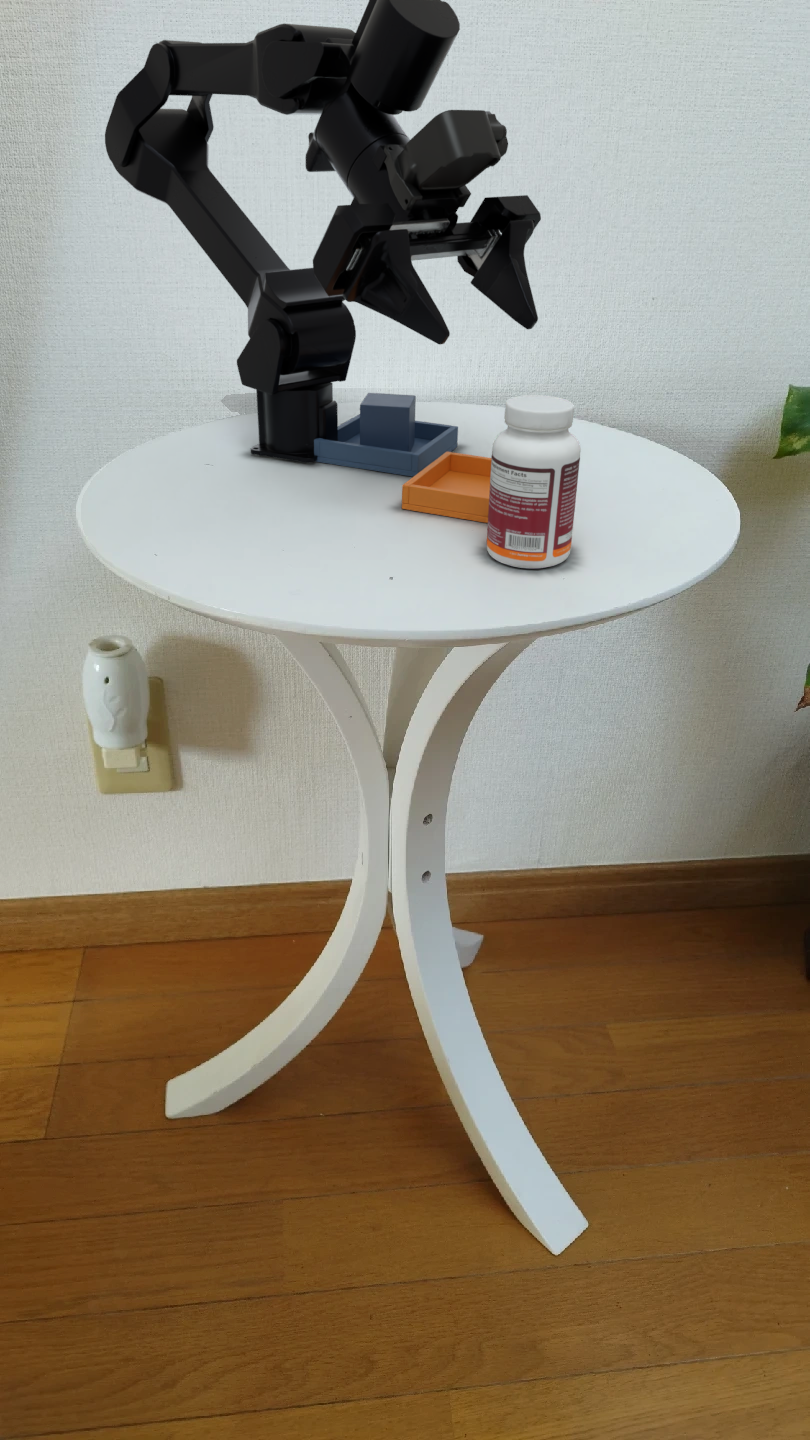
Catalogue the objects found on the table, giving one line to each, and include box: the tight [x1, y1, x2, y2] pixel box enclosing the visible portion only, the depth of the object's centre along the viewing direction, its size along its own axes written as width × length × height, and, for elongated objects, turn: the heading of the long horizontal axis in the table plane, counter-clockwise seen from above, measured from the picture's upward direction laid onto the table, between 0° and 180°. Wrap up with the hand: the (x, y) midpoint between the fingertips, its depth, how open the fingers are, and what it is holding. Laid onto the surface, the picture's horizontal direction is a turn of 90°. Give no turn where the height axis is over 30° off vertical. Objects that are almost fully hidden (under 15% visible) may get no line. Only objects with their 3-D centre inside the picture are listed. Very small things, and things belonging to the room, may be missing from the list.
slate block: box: [359, 392, 417, 452], centre depth 94 cm, size 4×4×4 cm
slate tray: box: [314, 413, 459, 478], centre depth 94 cm, size 10×10×2 cm
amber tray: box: [401, 451, 492, 524], centre depth 84 cm, size 10×10×2 cm
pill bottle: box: [486, 394, 582, 570], centre depth 72 cm, size 6×6×11 cm
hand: (491, 332), depth 73 cm, fingers open, 9 cm apart
